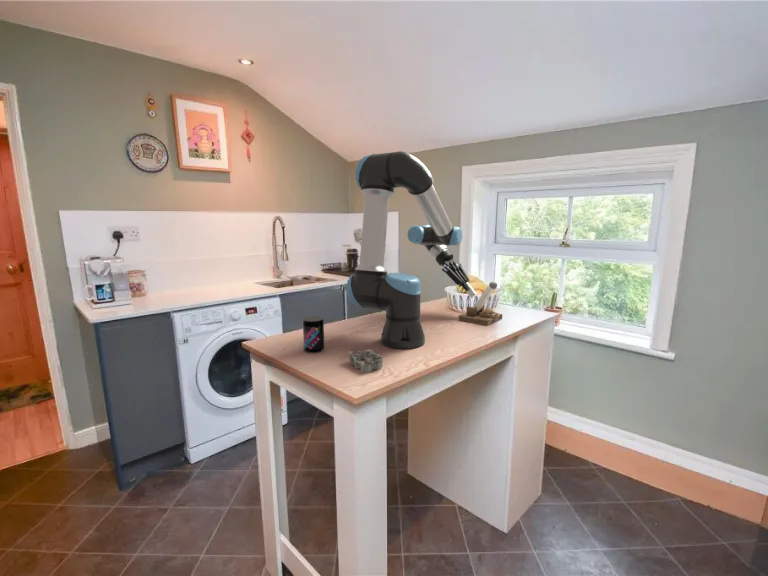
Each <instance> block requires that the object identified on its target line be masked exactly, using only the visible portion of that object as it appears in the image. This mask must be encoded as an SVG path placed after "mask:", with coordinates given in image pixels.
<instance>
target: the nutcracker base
mask: <svg viewBox="0 0 768 576" xmlns="http://www.w3.org/2000/svg"><path fill="white" fill-rule="evenodd" d="M476 309H477V308H476V307H474V306H466V312H464V313H462V314H459V315H458V321H461V322H467V323H473V324H477V325H483V326H487V325H488V326H490V325H491V323H492V324H494V323H496V322H499V321H500V319H501V320H502V319H503V313H498V312H496V311H493V314H491V315H490V314H485V313H484V310H485V304H484V305H483V307H482V308H481V309H480V311H479V312H477V313H476ZM493 322H494V323H493ZM489 324H490V325H489Z"/></svg>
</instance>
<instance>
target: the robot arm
mask: <svg viewBox="0 0 768 576" xmlns="http://www.w3.org/2000/svg"><path fill="white" fill-rule="evenodd" d="M354 173H355V174H354V175H355V176H354V178H355V181H356V184H357V186H358V187H359V188H360V193H361V194H362V195H363V196H364V205H363V217H362V229H361V240H360V241H361V242H360V256H359V265H358V266H357V267H355V268H354V273H353V274H351V275H350V276H349V279H347V281H346V294H347V297H348V299H349V300H350V302H351V304H353V305H354V306H358V307H361V308H364V309H365V308H366V309H367V308H368V309H369V308H370V309H376V310H381V311H385V322H384V325H383V329H382V331H381V334H380V343H381V344H382V345H384V346H385V347H388V348H392V349H400V350H401V349H402V350H403V349H404V350H405V349H415V348H418V347H419V348H420V347H421V346H424V345H425V342H426V336H425V333H424V329H423V326H422V323H421V295H422V294H421V293H422V289H421V281H420V279H419V277H417V276H415V275H413V274H408V273H405V272H404V273H403V272H400V273H399V272H390V273H388V270H387V269H386V268H385V267H384V264H385V252H386V251H385V250H386V243H387V241H386V240H387V228H388V215H389V205H390V204H389V203H390V199H391V198H393V196H394V194H395V193H394V192H395V189H396V188H405V189H406V190H407V192H408V193H409V195H412V196H414V198H415V200H416V202H417V204H418V206H419V207H420V209H421V211H422V213H423V215H424V216H425V218H426V220H427V221H428V223H429V224H424V225H422V226H421V225H413V226H410V227H409V228H408V230H407V239H408V240H409V242H411V243H412V244H414V245H420V246H424V247H425V248H426V250H427V251H428V252H429V253H430V255H431V256H432V257H433V259H434V260H435V261H436V263H437V264H438V265H439V266H441V267H442V269H441V271H442V272H443V273H445V274H446V275H447V276H448V277H449V279H451V280H452V281H453V283H455V284H456V285H457V286H458V287H460V288H461V287H462V288H463V289H464V291H465V292H466V293H467V295H468V296H469V297H470V299H473V298H474V297H475V296H476V295H478V293H477V292H476V290H475V289H474V288H473V286H472V285H471V284H470V283H469V282H470V277H468V275H467V273H466V271H465V270H464V269H463V266H462V264H461V263H460V262H459V263H457V262H456V261H455V260H454V254H453V252H451V250H450V249H449V248H448V246H450V247H451V246H458V245H460V244H461V242H462V241H463V240H462V239H463V230H462V229H461V227H459V226H453V224H452V222H451V220H450V218H449V216H448V214H447V212H446V210H445V208H444V206H443V203H442V202H441V200H440V197H439V196H438V193H437V190H436V189H435V187H434V178H433V175H432V173H431V171H430V170H429V169H428V168H427V166H426V165H425V164H424V163H423V162H422V161H421V160H420V159H419V158H418V157H417V156H415V155H413V154H412V153H409V152H407V151H401V150H400V151H394V152H393V151H392V152H384V153H371V154H369V155H365V156H363V157H362V158H360V159H359V161H358V162H357V164H356V167H355V172H354Z"/></svg>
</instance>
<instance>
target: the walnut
mask: <svg viewBox="0 0 768 576" xmlns="http://www.w3.org/2000/svg"><path fill="white" fill-rule="evenodd" d="M493 312H494V310H493V308H492V307H486V308H484V313H485V314H490V315H491V314H493Z"/></svg>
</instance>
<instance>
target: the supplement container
mask: <svg viewBox="0 0 768 576" xmlns="http://www.w3.org/2000/svg"><path fill="white" fill-rule="evenodd" d="M324 318H325V317H324V316H319V315H315V316H313V315H312V316H311V315H310V316H306V317H303V318H302V332H303V333H302V337H303V351H305V352H306V353H309V352H311V353H312V354H314V353H315V352H316V353H319V352H323V351H324V349H325V347H326V346H325V322H324V321H325V319H324ZM313 352H314V353H313Z"/></svg>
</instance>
